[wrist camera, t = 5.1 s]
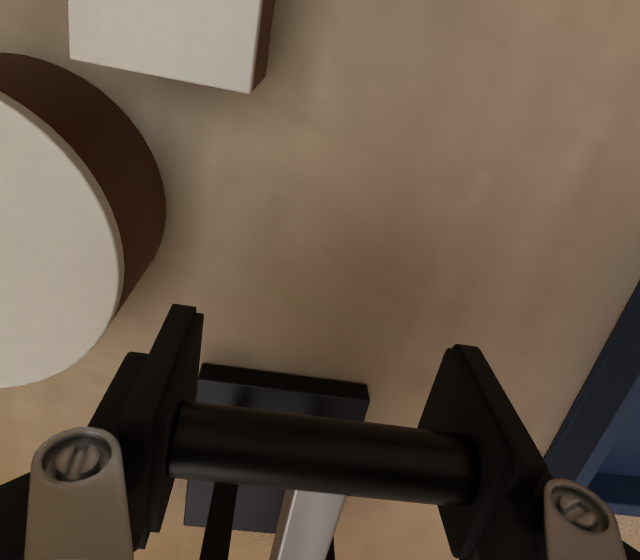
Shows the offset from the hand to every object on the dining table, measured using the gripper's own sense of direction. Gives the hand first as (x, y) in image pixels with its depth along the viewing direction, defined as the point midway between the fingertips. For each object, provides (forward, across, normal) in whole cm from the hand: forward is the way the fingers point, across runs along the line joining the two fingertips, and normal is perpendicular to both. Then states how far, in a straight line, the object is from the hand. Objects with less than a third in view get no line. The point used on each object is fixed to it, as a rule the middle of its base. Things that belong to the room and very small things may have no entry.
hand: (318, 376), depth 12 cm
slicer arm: (-1, 0, +6) cm, 6 cm away
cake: (+9, +11, 0) cm, 14 cm away
